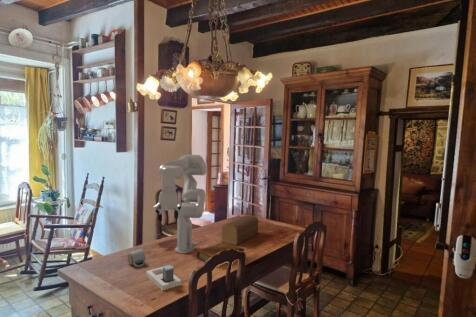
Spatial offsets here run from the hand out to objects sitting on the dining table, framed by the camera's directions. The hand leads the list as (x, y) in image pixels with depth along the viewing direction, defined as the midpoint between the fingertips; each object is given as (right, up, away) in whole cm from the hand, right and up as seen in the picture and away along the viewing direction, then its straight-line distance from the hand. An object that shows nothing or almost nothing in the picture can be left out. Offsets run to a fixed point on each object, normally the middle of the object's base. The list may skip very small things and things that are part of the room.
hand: (168, 219), depth 170 cm
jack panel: (0, -29, -12) cm, 31 cm away
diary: (+28, -28, +20) cm, 45 cm away
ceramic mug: (-20, -28, +8) cm, 35 cm away
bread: (+41, -26, +60) cm, 77 cm away
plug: (+4, -30, -16) cm, 34 cm away
